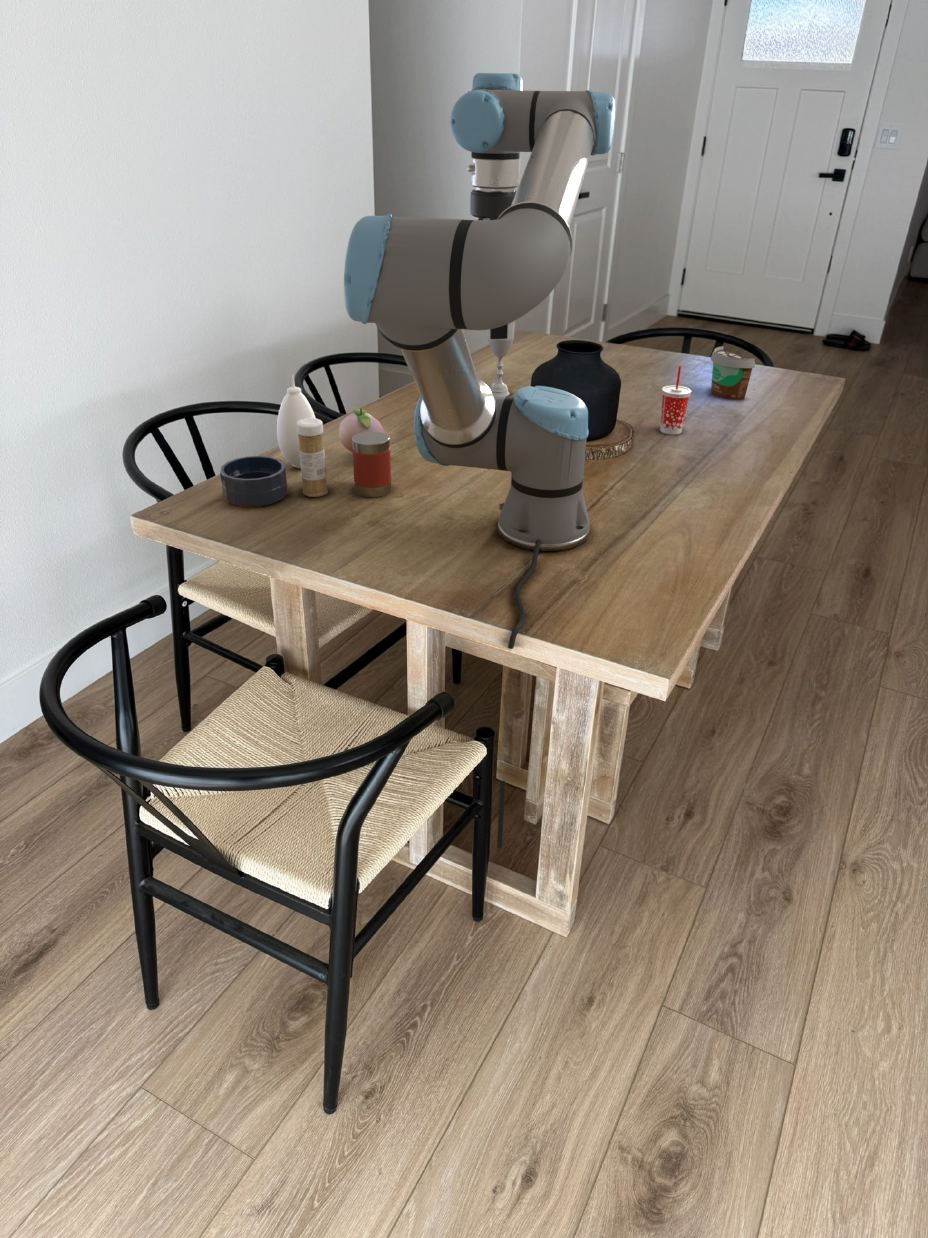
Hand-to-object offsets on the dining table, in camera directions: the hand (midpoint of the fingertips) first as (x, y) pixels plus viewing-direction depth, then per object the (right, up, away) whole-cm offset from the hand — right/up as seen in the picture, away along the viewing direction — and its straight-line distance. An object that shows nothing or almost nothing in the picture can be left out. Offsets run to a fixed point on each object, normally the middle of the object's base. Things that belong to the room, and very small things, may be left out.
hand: (490, 328), depth 149 cm
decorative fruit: (-25, -17, +26) cm, 40 cm away
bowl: (-42, -27, +10) cm, 51 cm away
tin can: (-21, -25, +13) cm, 36 cm away
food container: (+57, +5, +63) cm, 86 cm away
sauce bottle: (-36, -20, +22) cm, 47 cm away
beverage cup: (+40, -9, +42) cm, 59 cm away
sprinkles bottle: (-32, -26, +12) cm, 43 cm away
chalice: (+4, +4, +62) cm, 62 cm away
